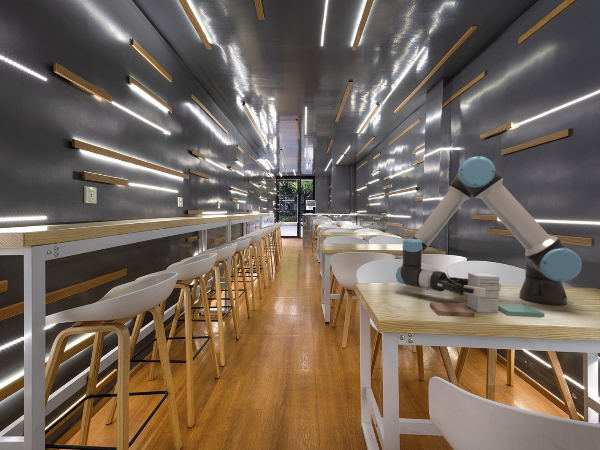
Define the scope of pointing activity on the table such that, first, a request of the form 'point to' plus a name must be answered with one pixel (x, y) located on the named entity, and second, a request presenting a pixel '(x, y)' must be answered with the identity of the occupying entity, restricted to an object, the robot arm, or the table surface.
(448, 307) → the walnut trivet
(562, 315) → the table surface
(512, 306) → the plate
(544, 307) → the table surface
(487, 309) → the supplement box
